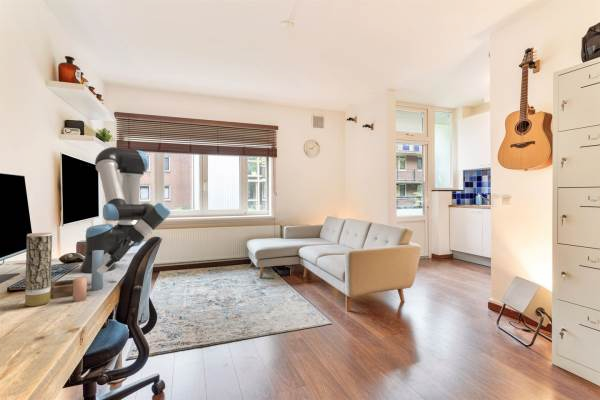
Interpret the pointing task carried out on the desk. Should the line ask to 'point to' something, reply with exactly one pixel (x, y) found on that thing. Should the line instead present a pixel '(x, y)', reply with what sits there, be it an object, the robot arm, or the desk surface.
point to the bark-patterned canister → (38, 269)
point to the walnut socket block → (61, 289)
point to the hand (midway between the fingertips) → (97, 269)
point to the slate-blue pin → (96, 263)
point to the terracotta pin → (79, 289)
